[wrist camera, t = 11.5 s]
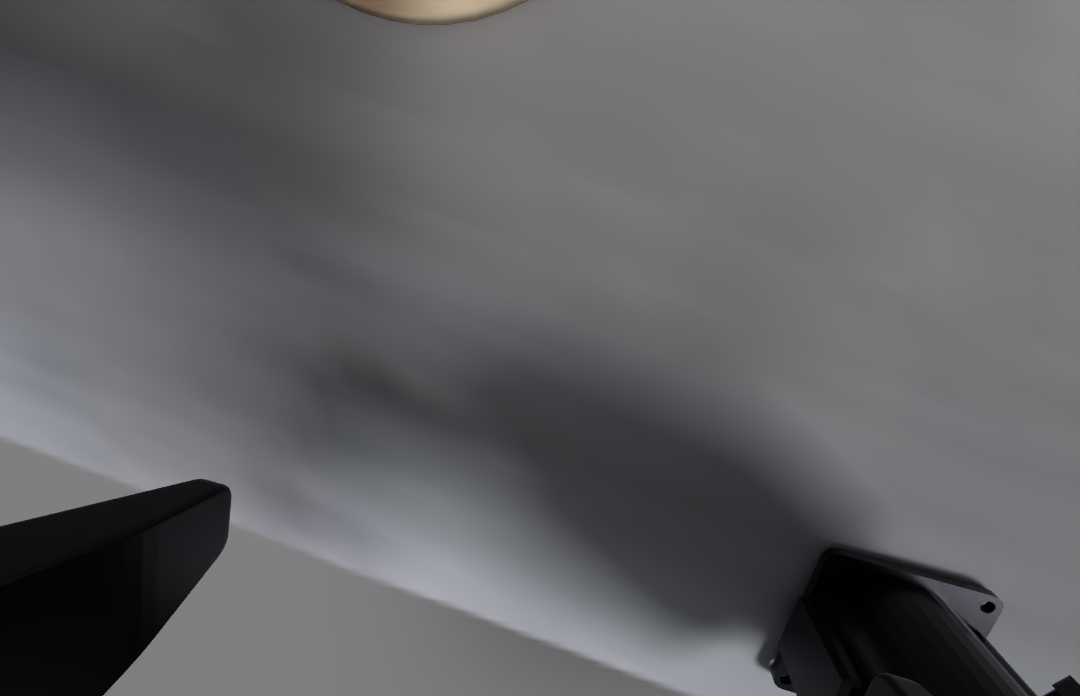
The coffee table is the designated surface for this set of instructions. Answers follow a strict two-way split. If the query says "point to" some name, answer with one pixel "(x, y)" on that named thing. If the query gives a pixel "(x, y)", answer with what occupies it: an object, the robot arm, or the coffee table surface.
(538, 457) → the coffee table surface
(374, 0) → the oak plate
